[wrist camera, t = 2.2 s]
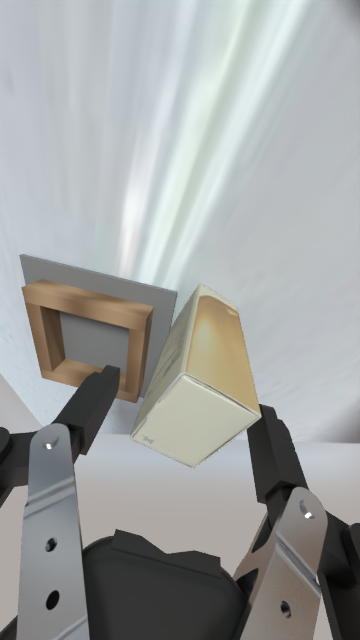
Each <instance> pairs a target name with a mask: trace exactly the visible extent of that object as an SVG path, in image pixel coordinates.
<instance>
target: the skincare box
mask: <svg viewBox="0 0 360 640" xmlns="http://www.w3.org/2000/svg"><path fill="white" fill-rule="evenodd" d="M260 418H261V412H260V407H259V403H258V398H257V394H256V390H255V385H254V381H253V376H252V372H251V368H250V363H249V359H248V354H247V350H246V345H245V341H244V336H243V332H242V328H241V323H240V319H239V314H238V310H237V306H236V305H235V304H233V303H231V302H230V301H228V300H227V299H225V298H224V297H222V296H221V295H219V294H217V293H216V292H214V291H212V290H211V289H209V288H207V287H206V286H204V285H202V284H200V285H199V286H198V287H197V288H196V290H195V291H194V293H193V294H192V296H191V297H190V299H189V300H188V302H187V303H186V305H185V306H184V308H183V310H182V311H181V313H180V314H179V316H178V318H177V319H176V321H175V323H174V324H173V326H172V328H171V330H170V333H169V335H168V338H167V340H166V343H165V346H164V349H163V351H162V354H161V356H160V359H159V362H158V364H157V367H156V370H155V372H154V375H153V377H152V380H151V383H150V385H149V388H148V391H147V393H146V396H145V398H144V401H143V404H142V406H141V409H140V412H139V414H138V417H137V420H136V422H135V425H134V428H133V430H132V433H131V436H130V438H131V439H132V440H134V441H136V442H138V443H140V444H142V445H144V446H146V447H148V448H150V449H153V450H155V451H157V452H159V453H161V454H163V455H165V456H167V457H169V458H172V459H173V460H176V461H178V462H180V463H182V464H184V465H187V466H189V467H191V468H195V467H197V466H198V465H200V464H201V463H203V462H204V461H205V460H207V459H208V458H210V457H211V456H213V455H214V454H215V453H217V452H218V451H219V450H220V449H222V448H223V447H225V446H226V445H227V444H228V443H230V442H231V441H232V440H234V439H235V438H236V437H237V436H239V435H240V434H241V433H243V432H244V431H245V430H246V429H247V428H249V427H250V426H251V425H252V424H253V423H255V422H256V421H257V420H259V419H260Z"/></svg>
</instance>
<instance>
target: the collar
mask: <svg viewBox="0 0 360 640" xmlns="http://www.w3.org/2000/svg"><path fill="white" fill-rule="evenodd" d="M22 291H23V296H24V300H25V305H26V309H27V313H28V318H29V322H30V327H31V331H32V335H33V340H34V344H35V349H36V353H37V357H38V362H39V366H40V371H41V375H42V378H45V379H48V380H52V381H56V382H60V383H63V384H67V385H71V386H74V387H78V388H79V387H80V385H81V384H82V382H83V381H84V380H85V378H86V377H88V376H89V375H90V374H92V373H93V372H99V373H101V372H102V370H103V368H100V367H96V366H92V365H88V364H84V363H81V362H77V361H73V360H69V359H66V357H65V350H64V342H63V335H62V327H61V320H60V313H59V311H63V312H67V313H71V314H75V315H79V316H83V317H87V318H91V319H95V320H99V321H103V322H107V323H111V324H115V325H118V326H122V327H126V328H129V341H128V355H127V368H126V374H122V373H120V383H119V389H118V393H117V395H116V397H115V398H119V399H122V400H126V401H130V402H134V403H136V402H137V400H138V398H139V395H140V393H141V390H142V388H143V382H144V375H145V368H146V360H147V353H148V346H149V339H150V332H151V324H152V317H153V310H154V307H153V306H149V305H145V304H141V303H137V302H133V301H129V300H125V299H121V298H117V297H113V296H108V295H104V294H100V293H96V292H92V291H88V290H84V289H80V288H76V287H72V286H68V285H64V284H60V283H56V282H52V281H48V280H44V279H41V280H38V281H36V282H33V283H31V284H28V285H26V286H24V287H22Z"/></svg>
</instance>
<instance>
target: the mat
mask: <svg viewBox="0 0 360 640" xmlns="http://www.w3.org/2000/svg"><path fill="white" fill-rule="evenodd" d="M20 260H21V265H22V269H23V274H24V279H25V283H26V285H28V284H31V283H33V282H36V281H38V280H41V279H44V280H48V281H52V282H56V283H60V284H64V285H68V286H72V287H76V288H80V289H84V290H88V291H92V292H96V293H100V294H104V295H108V296H113V297H117V298H121V299H125V300H129V301H133V302H137V303H141V304H145V305H149V306H153V307H154V310H153V317H152V324H151V332H150V339H149V346H148V353H147V360H146V368H145V375H144V382H143V388H142V390H141V393H140V395H139V397H143V398H145V396H146V393H147V391H148V388H149V385H150V383H151V380H152V377H153V375H154V372H155V370H156V367H157V364H158V362H159V359H160V356H161V354H162V351H163V349H164V346H165V343H166V340H167V338H168V335H169V332H170V327H171V322H172V317H173V312H174V307H175V302H176V297H177V292H176V291H172V290H168V289H164V288H160V287H156V286H151V285H147V284H143V283H139V282H135V281H131V280H127V279H123V278H118V277H114V276H110V275H106V274H102V273H98V272H94V271H90V270H86V269H81V268H77V267H73V266H69V265H65V264H61V263H57V262H53V261H48V260H44V259H40V258H36V257H32V256H28V255H24V254H22V255H20ZM59 313H60V320H61V327H62V335H63V342H64V350H65V357H66V359H69V360H73V361H77V362H81V363H84V364H88V365H92V366H96V367H100V368H103V369H104V367H105V366H106V365H111V366H115V367H119V368H120V373H122V374H126V368H127V355H128V341H129V328H126V327H122V326H118V325H115V324H111V323H107V322H103V321H99V320H95V319H91V318H87V317H83V316H79V315H75V314H71V313H67V312H63V311H59Z"/></svg>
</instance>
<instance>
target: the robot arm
mask: <svg viewBox="0 0 360 640" xmlns="http://www.w3.org/2000/svg"><path fill="white" fill-rule="evenodd" d="M119 383H120V368H119V367H115V366H111V365H106V366H105V367H104V369H103V370H102V372H101V373H99V372H93V373H92V374H90V375H89V376H88V377H86V378H85V380H84V381H83V382H82V384H81V385H80V387H79V388H78V389H77V391H76V392H75V394H74V395H73V396H72V397H71V399H70V400H69V401H68V403H67V404H66V405H65V407H64V408H63V410H62V411H61V412H60V414H59V415H58V416H57V418H56V419H55V420H54V421H53V422H52V423H51V424H50V425H47V426H45V427H43V428H42V429H40V430H39V431H35V432H29V433H17V434H9V431H8V430H7V429H5V428H3V427H0V508H1V506H2V505H3V503H4V501H5V500H6V499H7V497H8V495H9V494H10V492H11V491H12V489H13V488H14V487H17V486H24V485H28V499H27V504H26V505H25V508H24V514H23V526H22V546H21V563H20V582H19V602H18V615H17V616H16V617H15V618H14V619H13V620H12V621H11V622H10V623H9V624H8V625H7V626H6V627H5V628H4V629H3V630H2V631H1V632H0V640H313V635H314V631H315V626H316V621H317V616H318V611H319V605H320V599H321V592H322V596H323V600H324V604H325V608H326V613H327V617H328V621H329V624H330V629H331V633H332V637H333V640H360V523H355V524H352V525H351V526H349V525H348V524H346V523H344V522H343V521H341V520H339V519H338V518H337V517H335V516H333V515H332V514H330V513H329V512H327V511H326V510H325V509H324V507H323V506H322V504H321V502H320V501H319V500H318V498H317V497H316V496H315V495H314V494H313V493H312V492H310V491H309V489H308V486H307V483H306V480H305V477H304V474H303V471H302V468H301V465H300V462H299V459H298V456H297V454H296V452H295V447H294V445H293V443H292V439H291V436H290V433H289V430H288V428H287V427H286V426H285V424H284V423H283V421H282V420H280V419H277V415H276V412H275V409H274V408H273V407H269V406H265V405H262V404H259V407H260V412H261V418H260V419H259V420H257V421H256V422H255V423H253V424H252V425H251V426H250V427H249V428H247V435H248V442H249V448H250V455H251V462H252V468H253V475H254V482H255V488H256V495H257V501H258V502H260V503H263V504H266V506H267V513H266V514H265V516H264V518H263V520H262V523H261V525H260V527H259V529H258V531H257V533H256V536H255V538H254V540H253V542H252V544H251V546H250V548H249V550H248V552H247V554H246V556H245V557H244V559H243V560H242V561H241V563H240V565H239V566H238V568H237V569H236V571H235V573H234V575H233V577H231V576H230V574H229V573H228V572H227V571H225V570H224V569H223V568H222V567H221V566H220V557H216V556H213V555H209V554H206V553H202V552H198V551H187V552H179V553H171V554H167V553H164V552H163V551H161V550H160V549H159V548H157V547H156V546H154V545H153V544H152V543H150V542H149V541H147V540H146V539H145V538H143V537H142V536H140V535H136V534H132V533H129V532H125V531H121V530H118V529H116V531H115V534H114V536H109V537H105V538H101V539H99V540H97V541H95V542H93V543H91V544H90V545H88V546H87V547H85V548H84V549H83V545H82V535H81V527H80V517H79V510H78V500H77V490H76V481H75V472H74V463H75V461H76V459H77V457H78V456H79V454H82V455H86V454H87V452H88V450H89V448H90V447H91V444H92V443H93V441H94V439H95V437H96V435H97V433H98V431H99V429H100V427H101V425H102V423H103V421H104V419H105V417H106V415H107V413H108V411H109V409H110V407H111V405H112V403H113V401H114V399H115V397H116V395H117V393H118V389H119ZM316 574H317V576H318V580H319V584H320V586H319V585H318V583H317V582H316ZM320 588H321V589H320Z"/></svg>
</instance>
